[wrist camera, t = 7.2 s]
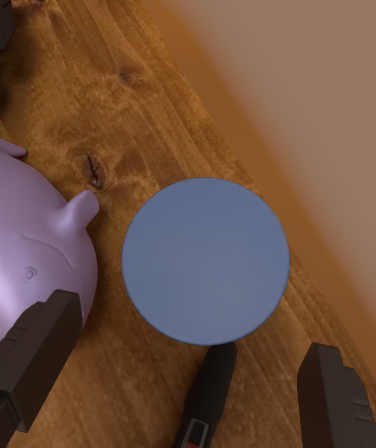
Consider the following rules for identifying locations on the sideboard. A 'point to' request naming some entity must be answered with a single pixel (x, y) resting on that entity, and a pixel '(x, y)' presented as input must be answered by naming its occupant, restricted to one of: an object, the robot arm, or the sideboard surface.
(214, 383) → the electric trimmer
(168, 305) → the peg
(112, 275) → the sideboard surface
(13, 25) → the electronic device
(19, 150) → the toy whale
